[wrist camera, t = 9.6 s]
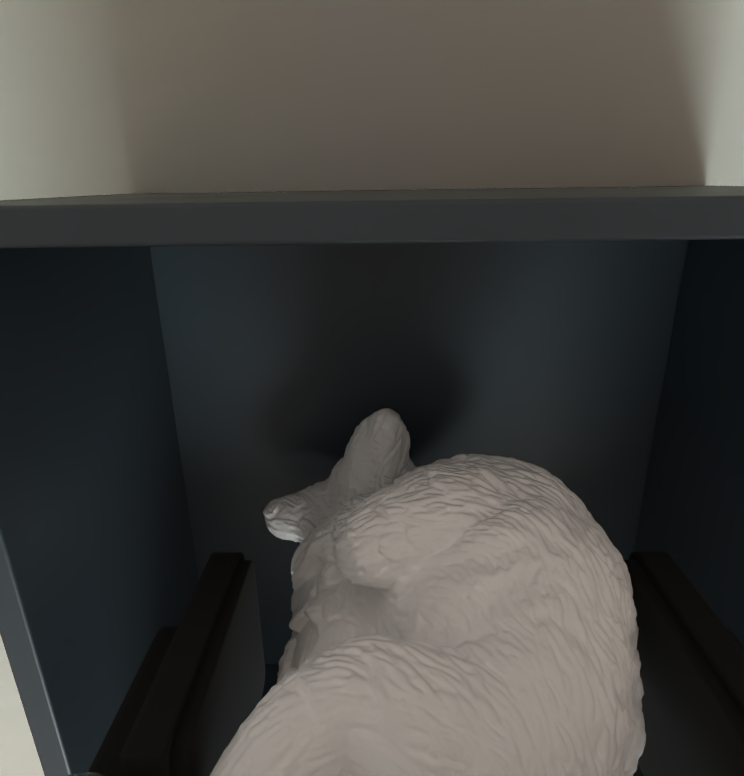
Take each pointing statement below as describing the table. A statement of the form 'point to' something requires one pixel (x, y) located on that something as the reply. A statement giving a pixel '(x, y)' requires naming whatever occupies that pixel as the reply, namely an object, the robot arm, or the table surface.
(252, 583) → the robot arm
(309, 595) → the koala figurine
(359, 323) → the bin
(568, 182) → the table surface
